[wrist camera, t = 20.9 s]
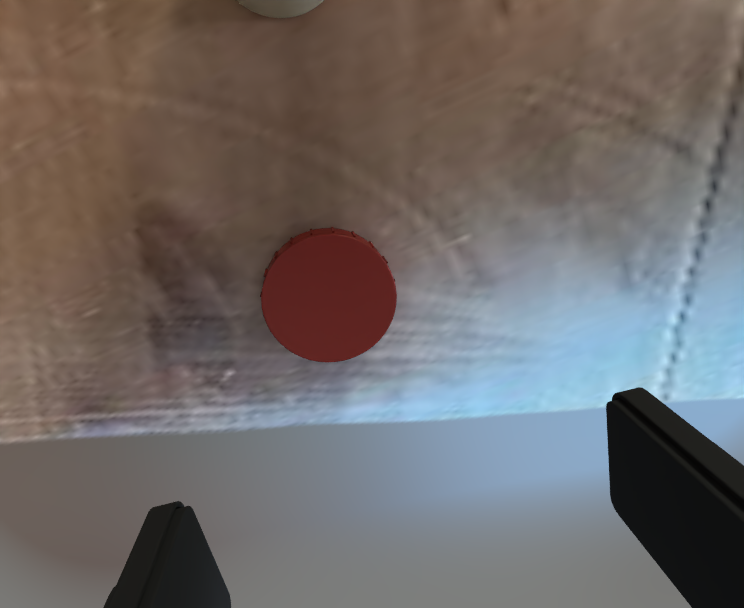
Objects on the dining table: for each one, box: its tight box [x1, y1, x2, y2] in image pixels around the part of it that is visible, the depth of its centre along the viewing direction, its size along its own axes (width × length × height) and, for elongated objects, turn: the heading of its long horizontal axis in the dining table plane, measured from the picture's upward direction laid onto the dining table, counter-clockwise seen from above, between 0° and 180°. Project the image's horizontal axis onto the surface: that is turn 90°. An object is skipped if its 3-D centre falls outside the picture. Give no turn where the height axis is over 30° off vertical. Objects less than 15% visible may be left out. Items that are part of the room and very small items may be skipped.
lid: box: [260, 227, 397, 362], centre depth 25 cm, size 7×7×2 cm
